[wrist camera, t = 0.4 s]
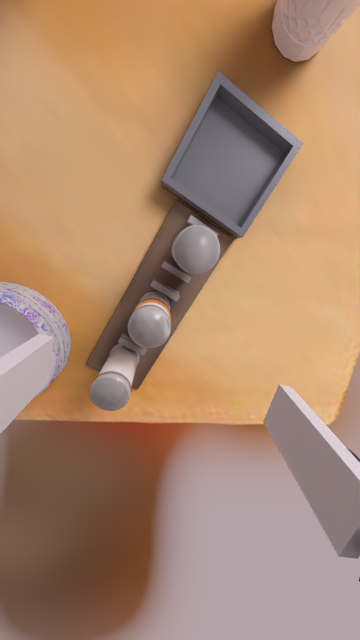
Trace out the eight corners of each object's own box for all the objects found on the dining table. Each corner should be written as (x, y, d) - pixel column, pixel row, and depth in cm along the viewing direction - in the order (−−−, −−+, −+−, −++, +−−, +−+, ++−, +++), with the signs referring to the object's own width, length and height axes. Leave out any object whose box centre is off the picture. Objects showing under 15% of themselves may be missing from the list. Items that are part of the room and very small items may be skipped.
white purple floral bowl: (-32, 361, 34) (-88, 392, 27) (-24, 263, 30) (-88, 267, 23) (70, 385, 37) (44, 421, 29) (89, 297, 33) (66, 311, 25)
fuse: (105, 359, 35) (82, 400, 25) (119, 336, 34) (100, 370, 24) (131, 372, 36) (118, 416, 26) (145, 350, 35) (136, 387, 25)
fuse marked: (133, 311, 33) (119, 335, 23) (148, 284, 32) (140, 298, 22) (160, 326, 34) (157, 355, 24) (175, 300, 33) (179, 321, 23)
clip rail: (86, 362, 35) (78, 374, 32) (176, 201, 29) (177, 194, 26) (137, 387, 37) (134, 401, 34) (231, 239, 31) (239, 238, 28)
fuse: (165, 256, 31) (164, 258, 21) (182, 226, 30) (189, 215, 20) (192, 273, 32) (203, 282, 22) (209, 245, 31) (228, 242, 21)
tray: (161, 185, 29) (161, 179, 26) (213, 87, 26) (218, 70, 24) (236, 238, 31) (242, 237, 29) (291, 152, 29) (303, 143, 26)
